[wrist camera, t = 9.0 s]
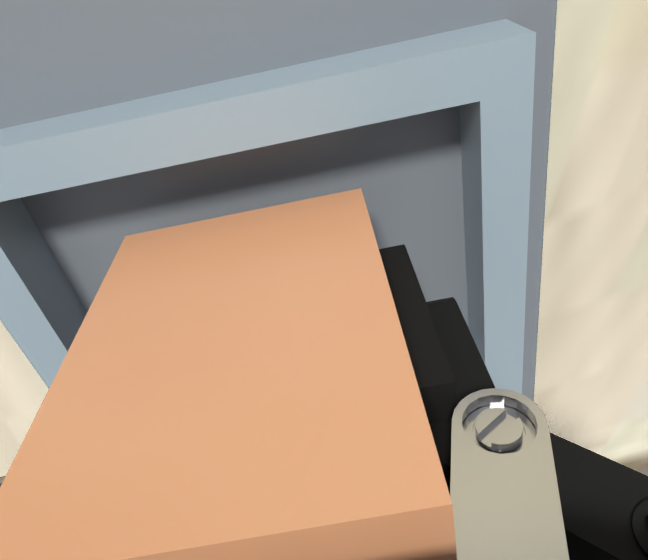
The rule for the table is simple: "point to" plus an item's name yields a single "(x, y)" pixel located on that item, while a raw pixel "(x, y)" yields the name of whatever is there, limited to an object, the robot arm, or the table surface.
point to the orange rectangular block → (235, 405)
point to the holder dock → (276, 143)
